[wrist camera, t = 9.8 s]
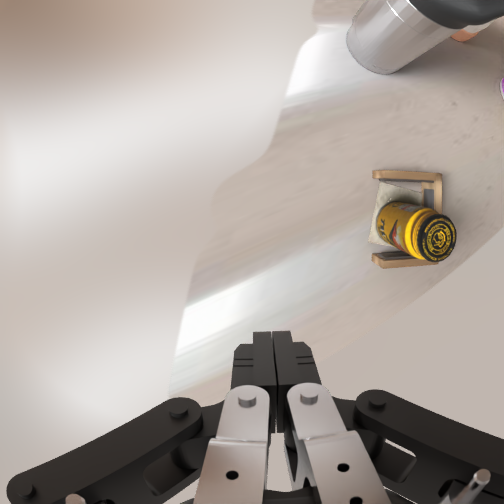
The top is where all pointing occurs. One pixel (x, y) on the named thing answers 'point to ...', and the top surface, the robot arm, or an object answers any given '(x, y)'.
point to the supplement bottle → (502, 87)
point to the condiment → (411, 225)
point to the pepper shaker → (470, 31)
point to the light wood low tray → (429, 200)
